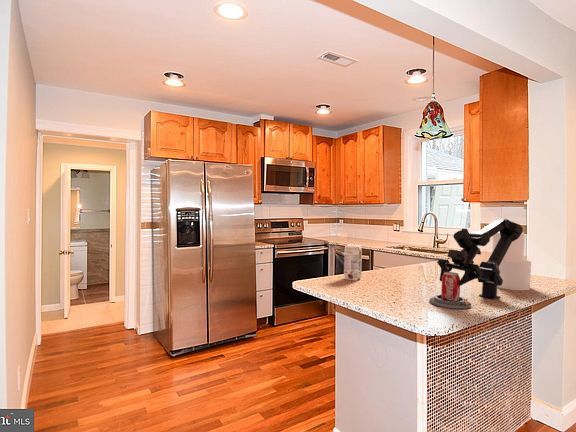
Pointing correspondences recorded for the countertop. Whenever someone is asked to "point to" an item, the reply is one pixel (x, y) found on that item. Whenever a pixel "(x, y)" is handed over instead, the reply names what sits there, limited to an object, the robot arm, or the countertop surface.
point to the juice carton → (352, 262)
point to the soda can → (450, 286)
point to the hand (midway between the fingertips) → (449, 282)
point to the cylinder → (514, 265)
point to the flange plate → (450, 303)
